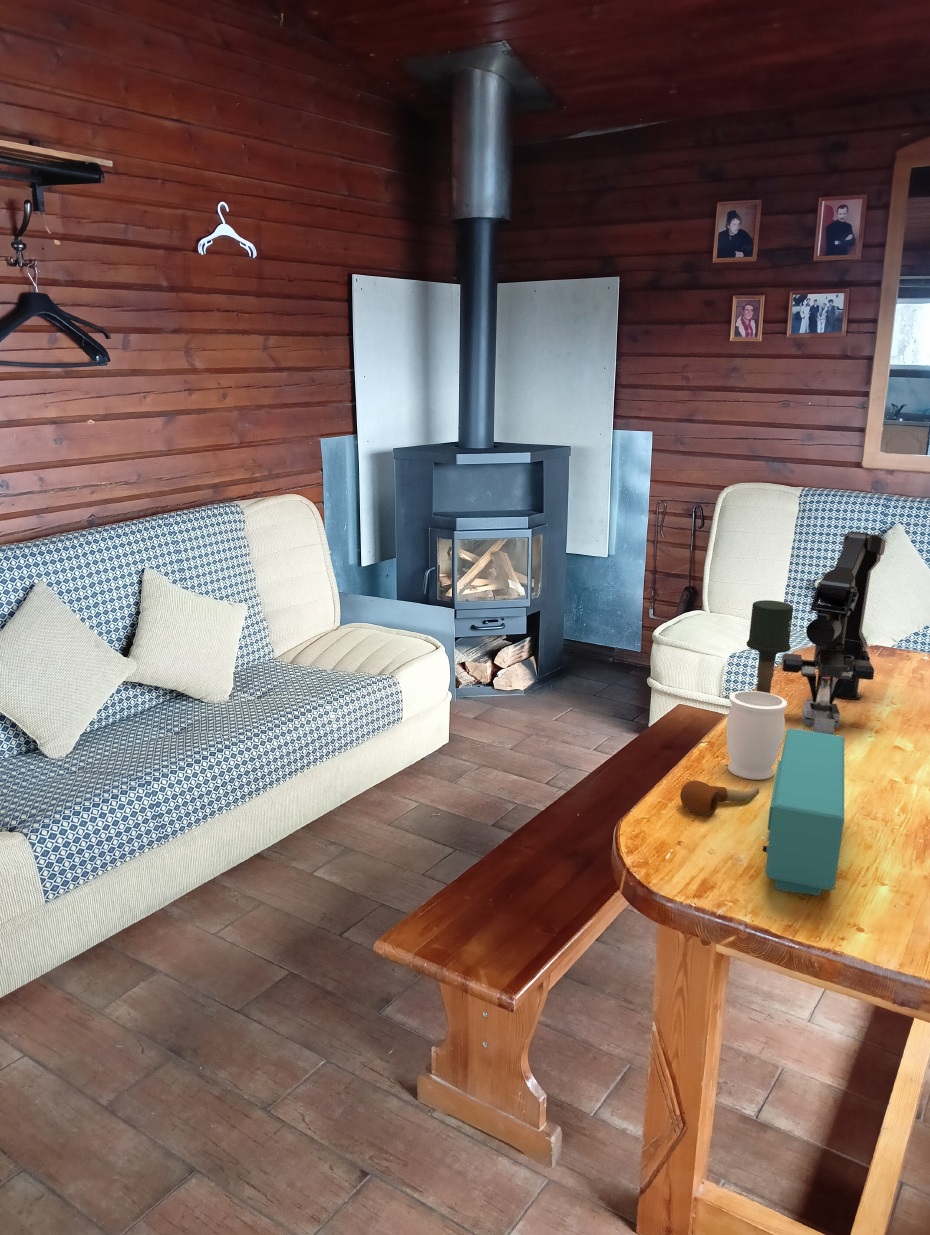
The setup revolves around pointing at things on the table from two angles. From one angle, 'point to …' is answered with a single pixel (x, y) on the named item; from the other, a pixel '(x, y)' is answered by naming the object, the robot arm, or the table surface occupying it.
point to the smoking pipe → (711, 797)
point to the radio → (806, 813)
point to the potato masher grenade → (769, 637)
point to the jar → (754, 733)
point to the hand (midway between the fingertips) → (822, 703)
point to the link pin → (823, 693)
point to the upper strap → (821, 717)
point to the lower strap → (809, 720)
